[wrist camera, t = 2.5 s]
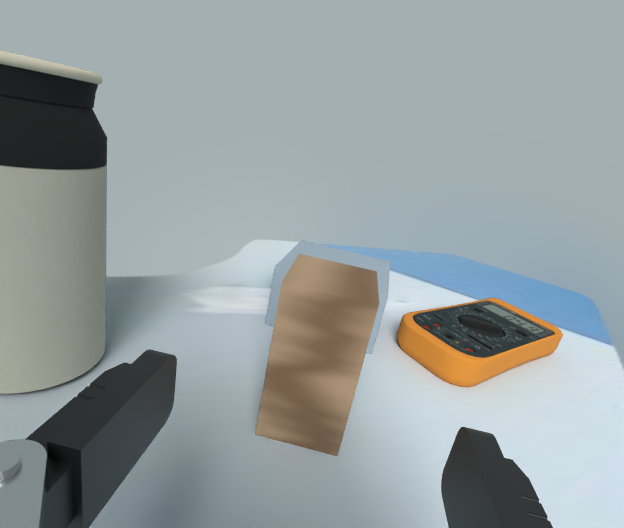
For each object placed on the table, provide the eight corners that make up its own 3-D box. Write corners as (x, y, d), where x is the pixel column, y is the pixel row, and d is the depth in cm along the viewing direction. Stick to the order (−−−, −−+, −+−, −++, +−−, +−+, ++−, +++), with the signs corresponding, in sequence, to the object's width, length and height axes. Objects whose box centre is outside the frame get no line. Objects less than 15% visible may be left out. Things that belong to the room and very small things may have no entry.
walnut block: (255, 434, 22) (282, 281, 19) (274, 383, 27) (299, 253, 24) (337, 456, 22) (379, 304, 19) (342, 400, 27) (376, 271, 23)
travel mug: (131, 348, 27) (140, 83, 22) (19, 418, 20) (-14, 45, 14) (48, 315, 29) (36, 63, 23) (-80, 367, 22) (-146, 21, 16)
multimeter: (383, 342, 36) (392, 311, 35) (484, 319, 47) (494, 294, 45) (457, 400, 30) (472, 363, 29) (556, 357, 40) (569, 330, 39)
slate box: (264, 326, 35) (274, 266, 33) (292, 288, 44) (301, 240, 42) (370, 356, 33) (387, 295, 31) (376, 310, 43) (389, 261, 41)
